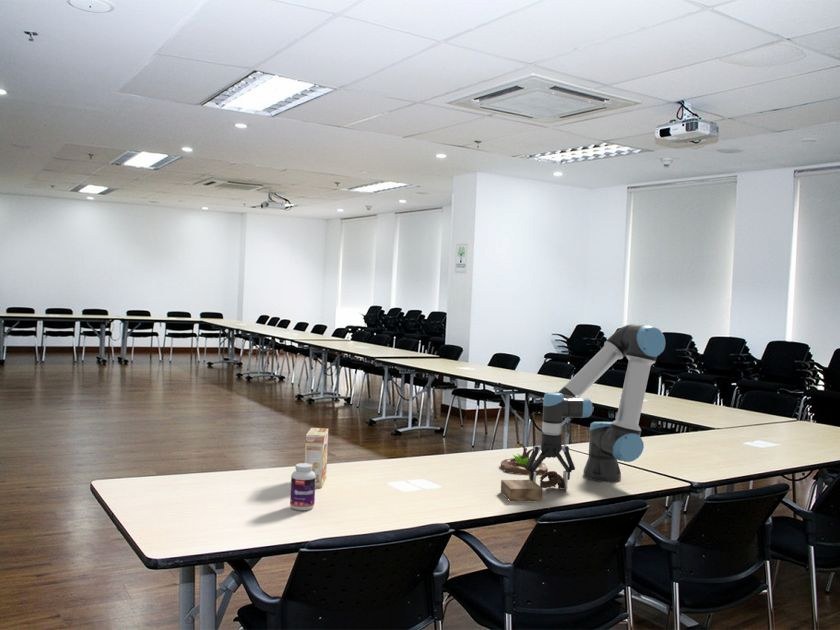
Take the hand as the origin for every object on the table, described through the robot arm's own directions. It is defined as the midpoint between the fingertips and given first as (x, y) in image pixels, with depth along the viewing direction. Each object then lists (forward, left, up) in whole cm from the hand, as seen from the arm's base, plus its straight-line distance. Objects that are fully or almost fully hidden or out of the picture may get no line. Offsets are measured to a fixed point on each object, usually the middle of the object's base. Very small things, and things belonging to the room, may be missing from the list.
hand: (549, 488), depth 276 cm
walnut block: (+15, +9, -1) cm, 18 cm away
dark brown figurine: (-1, +1, -1) cm, 2 cm away
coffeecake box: (+88, -16, 0) cm, 89 cm away
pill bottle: (+95, +15, 0) cm, 96 cm away
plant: (-2, -31, -1) cm, 31 cm away
